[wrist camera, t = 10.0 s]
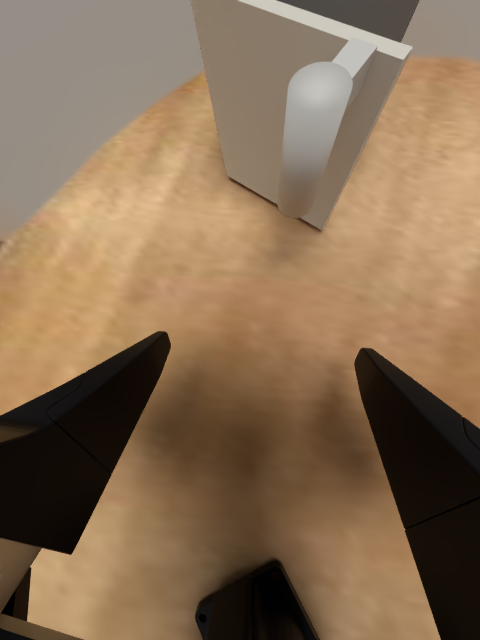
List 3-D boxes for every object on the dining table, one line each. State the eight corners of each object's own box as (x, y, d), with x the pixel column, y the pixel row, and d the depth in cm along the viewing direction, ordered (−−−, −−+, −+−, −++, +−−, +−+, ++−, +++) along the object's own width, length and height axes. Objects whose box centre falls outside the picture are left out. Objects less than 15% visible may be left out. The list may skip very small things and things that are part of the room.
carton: (344, 168, 17) (455, -81, 7) (231, 172, 18) (194, -36, 9) (344, 120, 18) (445, -165, 8) (236, 127, 19) (207, -112, 9)
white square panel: (293, 267, 16) (343, 128, 6) (200, 208, 18) (121, 27, 8) (325, 224, 16) (424, 23, 6) (230, 170, 18) (191, -51, 8)
